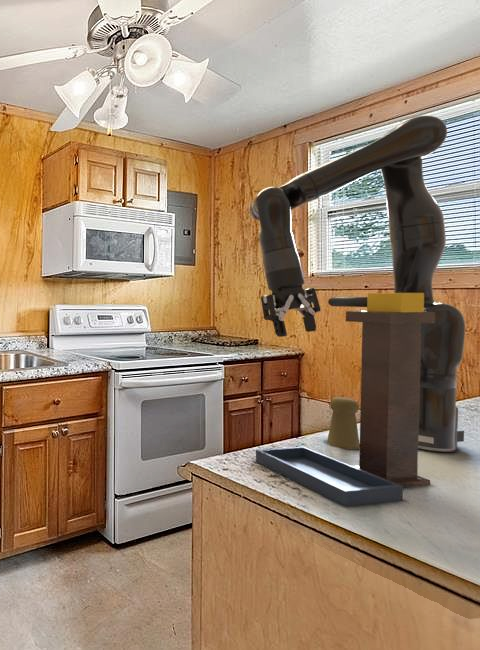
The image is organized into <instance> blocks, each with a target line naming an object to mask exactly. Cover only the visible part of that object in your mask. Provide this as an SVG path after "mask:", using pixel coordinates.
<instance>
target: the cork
mask: <svg viewBox="0 0 480 650" xmlns="http://www.w3.org/2000/svg"><path fill="white" fill-rule="evenodd" d="M329 406H330V409H331V410H332V413H331V419H330V425H329V430H328V435H327V440H326V442H327V444H328V445H331V446H332V447H335V448H340V449H346V450H358V449H359V450H360V435H359V430H358V423H357V415H356V414H357V413H358V412H359V409H360V408H359V407H360V406H359V403H358V401H356V400H355V399H354V398H353V399H352V398H349V397H344V396H343V397H342V396H339V397H333V398H331V400H330V402H329Z"/></svg>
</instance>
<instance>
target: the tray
mask: <svg viewBox="0 0 480 650" xmlns="http://www.w3.org/2000/svg"><path fill="white" fill-rule="evenodd" d="M255 462H256V463H258V464H260V465H263V466H264V467H266V468H268V469H271V470H272V471H274V472H277V473H278V474H280V475H282V476H284V477H286V478H288V479H290V480H292V481H294V482H296V483H298V484H299V485H302V486H304V487H306V488H308V489H310V490H312V491H314V492H316V493H318V494H320V495H322V496H324V497H326V498H327V499H330V500H332V501H334V502H336V503H337V504H340V505H342V506H344V507H350V506H360V505H370V504H380V503H390V502H401V501H404V488H403V486H401V485H399V484H396V483H394V482H391V481H389V480H386V479H384V478H381V477H379V476H376V475H374V474H371V473H369V472H366V471H364V470H361V469H359V468H356V467H354V466H355V465H351V464H348V463H346V462H343V461H340V460H338V459H336V458H334V457H331V456H329V455H326V454H323V453H321V452H319V451H316V450H314V449H311V448H309V447H306V446H303V445H301V446H291V447H290V446H289V447H287V446H286V447H275V448H262V449H255Z"/></svg>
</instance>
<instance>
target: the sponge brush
mask: <svg viewBox="0 0 480 650" xmlns="http://www.w3.org/2000/svg"><path fill="white" fill-rule="evenodd" d="M366 295H367V296H332V297H330V298H329V299H328V301H327V303H328V305H329V306H331V307H345V308H346V307H347V308H348V307H349V308H366V311H371V312H401V313H402V312H424V293H394V292H368V293H367V294H366Z"/></svg>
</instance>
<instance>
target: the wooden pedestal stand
mask: <svg viewBox="0 0 480 650" xmlns="http://www.w3.org/2000/svg"><path fill="white" fill-rule="evenodd" d="M345 322H350V323H351V322H352V323H361V325H362V326H361V366H360V367H361V368H360V372H361V373H360V376H361V377H360V408H359V409H360V412H359V413H360V414H359V415H360V418H359V443H360V448H359V452H358V453H359V461H358V465H353V466H354V467H356V468H359V469H361V470H364V471H366V472H369V473H371V474H374V475H376V476H379V477H381V478H384V479H386V480H389V481H391V482H394V483H396V484H399V485H401V486H403V489H409V488H417V487H418V488H419V487H428V486H431V479H428V478H425V477H423V476H421V475H418V474H419V472H418V471H419V469H418V468H419V449H418V437H419V399H420V362H421V325H422V323H435V312H402V313H401V312H371V311H367V310H346V311H345Z"/></svg>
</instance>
